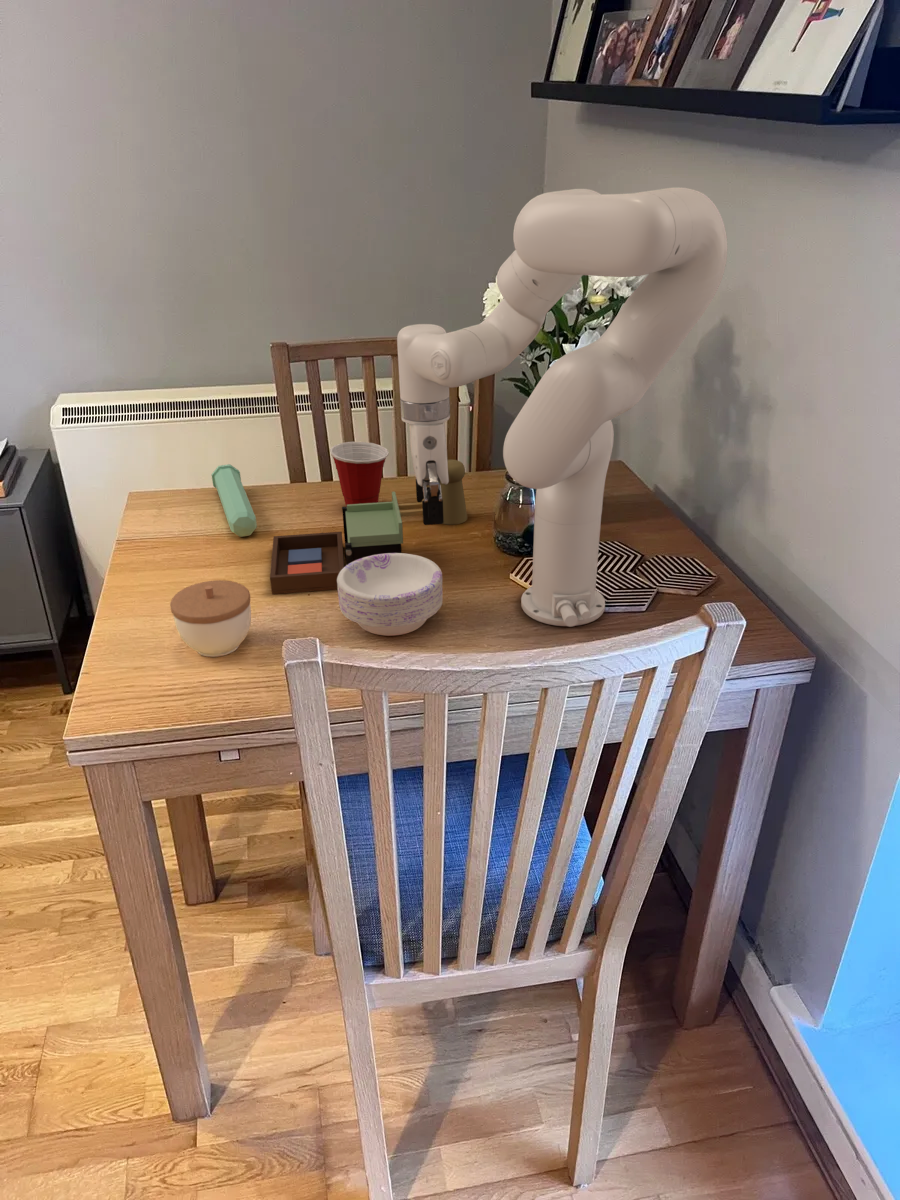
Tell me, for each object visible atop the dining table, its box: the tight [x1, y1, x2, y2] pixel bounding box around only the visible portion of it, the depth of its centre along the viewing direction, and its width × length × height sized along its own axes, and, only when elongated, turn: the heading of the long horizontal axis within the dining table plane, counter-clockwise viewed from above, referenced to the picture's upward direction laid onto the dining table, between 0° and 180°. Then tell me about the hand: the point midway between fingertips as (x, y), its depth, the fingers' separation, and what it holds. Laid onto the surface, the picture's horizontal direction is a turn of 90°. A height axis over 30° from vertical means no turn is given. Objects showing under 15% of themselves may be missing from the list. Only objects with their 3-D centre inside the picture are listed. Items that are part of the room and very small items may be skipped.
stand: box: [341, 506, 402, 565], centre depth 144 cm, size 17×9×8 cm, turn 8°
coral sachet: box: [288, 563, 322, 574], centre depth 141 cm, size 5×6×1 cm
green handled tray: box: [345, 491, 424, 547], centre depth 142 cm, size 13×14×4 cm
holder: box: [269, 531, 345, 595], centre depth 143 cm, size 16×12×3 cm
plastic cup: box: [329, 441, 389, 507], centre depth 163 cm, size 11×11×12 cm
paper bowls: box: [337, 552, 444, 637], centre depth 127 cm, size 15×15×8 cm
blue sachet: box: [288, 548, 322, 565], centre depth 146 cm, size 5×6×1 cm
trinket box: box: [169, 579, 252, 658], centre depth 121 cm, size 11×11×9 cm
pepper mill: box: [440, 459, 468, 526], centre depth 159 cm, size 6×6×11 cm
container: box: [211, 463, 258, 538], centre depth 164 cm, size 6×6×25 cm
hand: (429, 512), depth 142 cm, fingers open, 9 cm apart
